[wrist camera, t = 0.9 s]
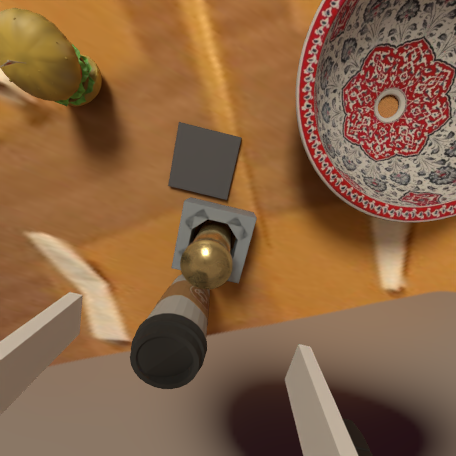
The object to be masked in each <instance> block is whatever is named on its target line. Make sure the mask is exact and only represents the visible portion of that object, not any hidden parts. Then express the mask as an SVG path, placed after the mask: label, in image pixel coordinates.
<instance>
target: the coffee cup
mask: <svg viewBox="0 0 456 456" xmlns="http://www.w3.org/2000/svg"><path fill="white" fill-rule="evenodd" d="M209 295H210V289H201V288H197V287H195V286H193V285H191V284H190V283H189V282H188V281H187V280H186V279H185V278H184V276H183V274H182V275H180V276H178V277H177V278H176V279H175V280H174V282H173V283H172V285H171V286H170V287H169V288H168V289H167V291H166V292H165V293H164V295H163V296H162V297H161V299H160V300H159V301H158V303H157V304H156V306H155V308H154V310H153V311H152V312H151V314H150V315H149V317H148V318H147V319H146V320H145V321H144V322H143V323H142V324H141V325H140V326H139V328H138V330H137V332H136V334H135V337H134V338H133V341H132V346H131V356H130V360H131V366H132V368H133V370H134V372H135V373H136V374H137V376H138V377H139V378H140V379H142V380H143V381H144V382H145V383H147V384H149V385H152V386H154V387H157V388H162V389H173V388H179V387H181V386H184V385H186V384H187V383H189V382H190V381H191V380H192V379H193V378H194V377H195V375H196V374H197V372H198V371H199V369H200V368H201V366H202V364H203V361H204V358H205V354H206V351H207V341H206V333H207V325H208V315H209Z"/></svg>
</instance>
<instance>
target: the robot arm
mask: <svg viewBox="0 0 456 456" xmlns="http://www.w3.org/2000/svg"><path fill="white" fill-rule="evenodd" d="M82 296H83V295H80V294H76V293H71V292H69V293H68V294H66V295H65V296H63V297H62V298H61V299H59V300H58V301H56V302H55V303H54V304H52V305H51V306H49V307H48V308H47V309H45V310H44V311H42V312H41V313H40V314H38V315H37V316H35V317H34V318H33V319H31V320H30V321H28V322H27V323H26V324H24V325H23V326H21V327H20V328H19V329H17V330H16V331H14V332H13V333H12V334H10V335H9V336H7V337H6V338H5V339H3V340H2V341H0V415H1V414H2V413H3V411H5V410H6V409H7V408H8V407H9V406H10V405H11V404H12V402H13V401H15V399H16V398H17V397H18V396H19V395H20V394H21V393H22V392H23V391H24V390H25V389H26V388H27V387H28V386H29V385H30V384H31V383H32V382H33V381H34V380H35V379H36V378H37V377H38V376H39V375H40V374H41V373H42V372H43V371H44V370H45V369H46V368H47V367H48V366H49V365H50V364H51V362H52V361H53V360H54V359H55V358H56V357H57V356H58V355H59V354H60V353H61V352H62V351H63V350H64V349H65V348H66V347H67V346H68V345H69V344H70V343H71V342H72V341H73V340H74V339H75V338H76V337H77V336H78V335H79V332H80V320H81V308H82ZM285 382H286V386H287V390H288V394H289V399H290V402H291V407H292V411H293V415H294V419H295V423H296V428H297V431H298V436H299V440H300V444H301V448H302V452H303V456H373V455H372V453H371V452H370V449H369V447H368V445H367V443H366V441H365V439H364V437H363V435H362V433H361V432H360V431H359V429H358V428H357V427H356V425H355V424H354V423H353V421H351V420H347V419H343V418H342V417H341V415H340V413H339V411H338V408H337V406H336V404H335V401H334V399H333V397H332V395H331V392H330V390H329V388H328V385H327V383H326V381H325V379H324V376H323V374H322V372H321V370H320V367H319V365H318V363H317V360H316V358H315V356H314V354H313V351H312V349H311V347H309V346H305V345H301V344H298V346H297V349H296V351H295V354H294V357H293V359H292V362H291V364H290V367H289V370H288V372H287V375H286V378H285Z"/></svg>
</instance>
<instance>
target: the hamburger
mask: <svg viewBox="0 0 456 456" xmlns="http://www.w3.org/2000/svg"><path fill="white" fill-rule="evenodd" d="M0 68H1V69H2V71H3V72H4V73H5V74H6V76H7V77H8V78H9V79H10V80H9V81H10V82H13V83H15V84H16V85H17V86H18V87H19V88H21V89H22V90H24V91H25V92H27V93H29V94H31V95H33V96H35V97H37V98H41V99H44V100H49V101H54V102H57V103H60V104H63V105H65V106H68V105H70V106H81V105H85V104H87V103H89V102H91V101H92V100H93V99H94V98H95V97H96V96H97V95H98V93H99V91H100V89H101V84H102V76H101V73H100V70H99V68H98V66H97V64H96V63H95V62H94V61H93V60H92V59H91V58H90V57H88V56H86V55H82V54H81V55H80V52H79V50H78V49H77V48H76V47H75V46H74V45H73V44H71V43H70V42H69V41H68V40H67V38H66V37H65V36H64V34H62V32H61V31H60V30H59V29H58V28H57V27H56V26H55V25H54V24H53V23H52V22H50V21H48V20H47V19H46V18H45V17H44V16H42V15H40V14H37V13H33V12H32V11H29V10H23V9H18V8H12V9H6V10H4V11H1V12H0Z"/></svg>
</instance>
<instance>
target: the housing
mask: <svg viewBox="0 0 456 456" xmlns="http://www.w3.org/2000/svg"><path fill="white" fill-rule="evenodd" d="M208 219H209V220H214V221H218V222H222V223H226V224H228V225H229V227H230V228H231V230H232V232H233V233H234V235H235V236H236V239H235V243H234V247H233V248H232V249H230V254H231V256H232V262H233V265H232V272H231V275H230V277H229V279H228V280H227V281H231V282H235V283H239V280H240V277H241V273H242V269H243V266H244V262H245V258H246V255H247V251H248V248H249V244H250V240H251V237H252V233H253V229H254V226H255V222H256V219H257V218H256V216H255V214H254V212H250V211H245V210H241V209H237V208H233V207H229V206H225V205H220V204H216V203H212V202H208V201H204V200H200V199H196V198H191V197H190V198H189V199H187V200H185V201H184V205H183V210H182V216H181V221H180V226H179V232H178V237H177V242H176V247H175V253H174V258H173V263H172V268H174V269H178V270H181V268H180V261H181V257H182V254H183V252H184V251H185V249H186V248H187V247H188V246H189V245H190V244H191V243H192V242H193V241H194V234H195V229H196V226H198V225H199V224H201V223H203V222H204V221H206V220H208Z"/></svg>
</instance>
